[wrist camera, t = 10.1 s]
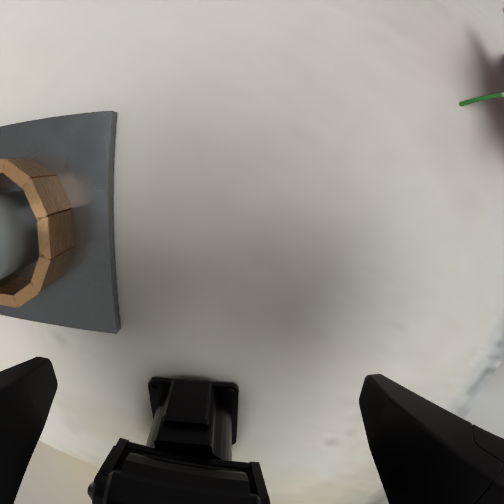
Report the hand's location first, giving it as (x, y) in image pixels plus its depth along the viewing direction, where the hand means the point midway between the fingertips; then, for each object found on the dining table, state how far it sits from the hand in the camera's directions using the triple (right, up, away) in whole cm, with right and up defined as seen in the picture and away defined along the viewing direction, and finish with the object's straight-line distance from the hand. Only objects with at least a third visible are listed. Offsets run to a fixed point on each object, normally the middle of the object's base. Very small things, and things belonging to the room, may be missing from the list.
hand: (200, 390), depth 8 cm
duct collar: (-14, +5, +10) cm, 18 cm away
